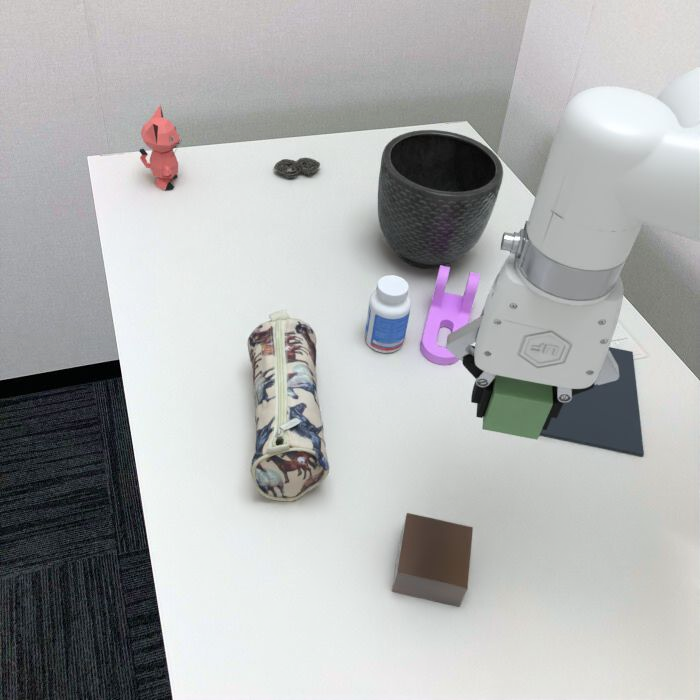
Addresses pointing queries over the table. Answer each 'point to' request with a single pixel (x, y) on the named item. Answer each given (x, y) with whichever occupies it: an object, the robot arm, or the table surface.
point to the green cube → (518, 407)
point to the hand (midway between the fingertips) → (511, 410)
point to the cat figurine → (161, 149)
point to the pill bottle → (388, 314)
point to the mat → (604, 413)
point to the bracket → (447, 315)
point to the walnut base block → (433, 560)
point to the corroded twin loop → (296, 167)
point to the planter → (436, 195)
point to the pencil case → (286, 409)
